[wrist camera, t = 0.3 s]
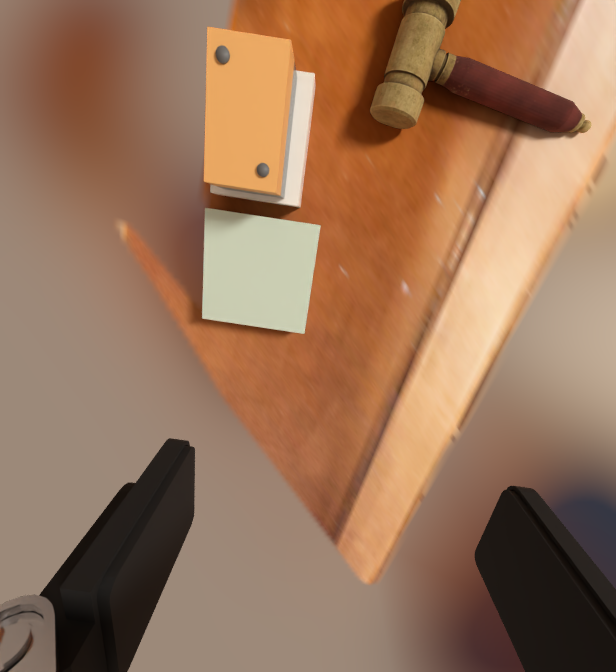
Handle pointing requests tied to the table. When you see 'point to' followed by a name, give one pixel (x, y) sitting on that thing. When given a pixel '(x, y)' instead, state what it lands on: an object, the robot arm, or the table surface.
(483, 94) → the gavel
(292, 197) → the stand
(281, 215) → the table surface
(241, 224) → the stand
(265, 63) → the housing cover
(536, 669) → the robot arm
